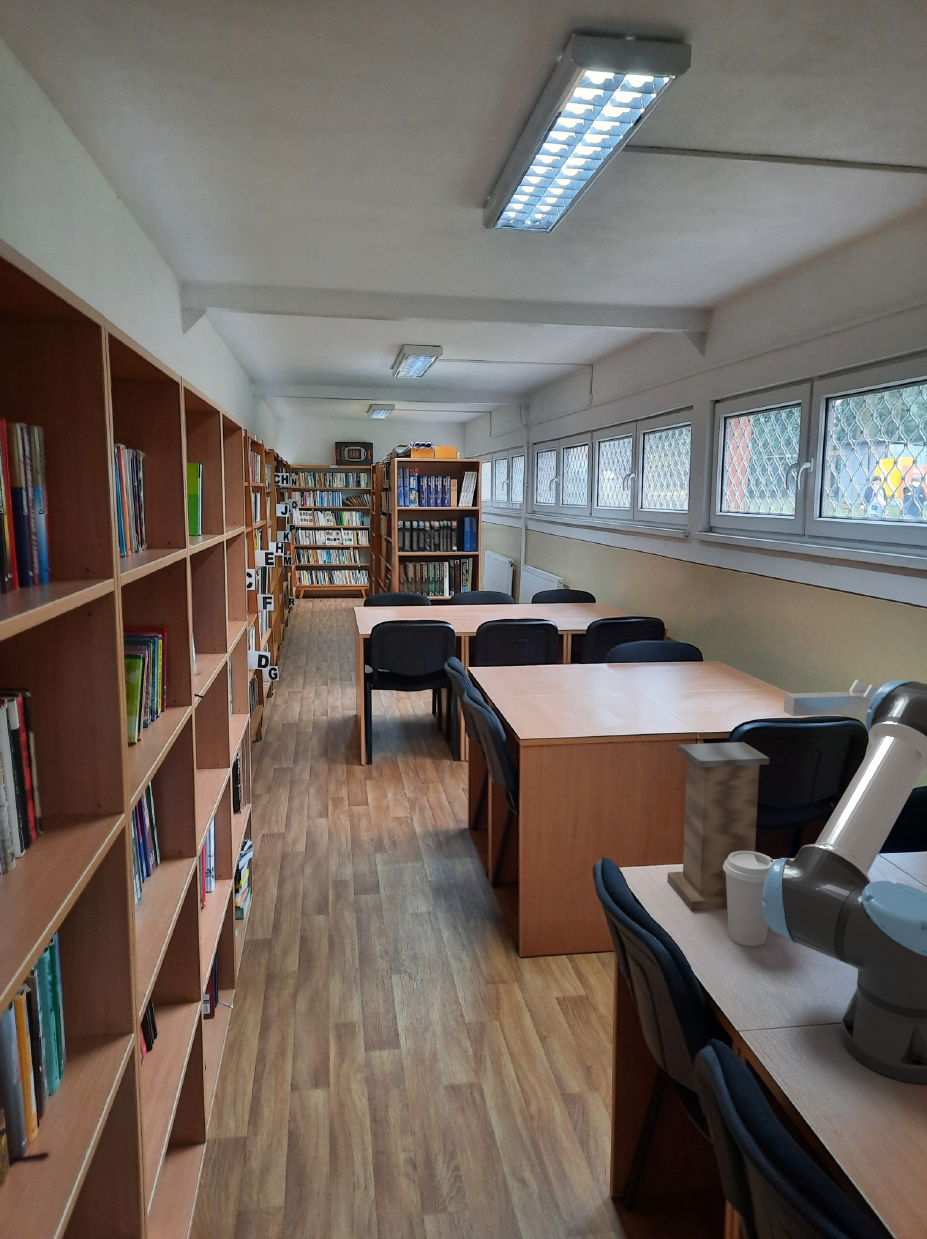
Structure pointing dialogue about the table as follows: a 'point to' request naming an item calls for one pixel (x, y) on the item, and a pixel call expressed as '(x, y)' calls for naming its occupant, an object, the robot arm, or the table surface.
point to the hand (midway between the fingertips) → (860, 688)
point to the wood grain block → (826, 703)
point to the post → (716, 818)
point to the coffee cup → (746, 896)
